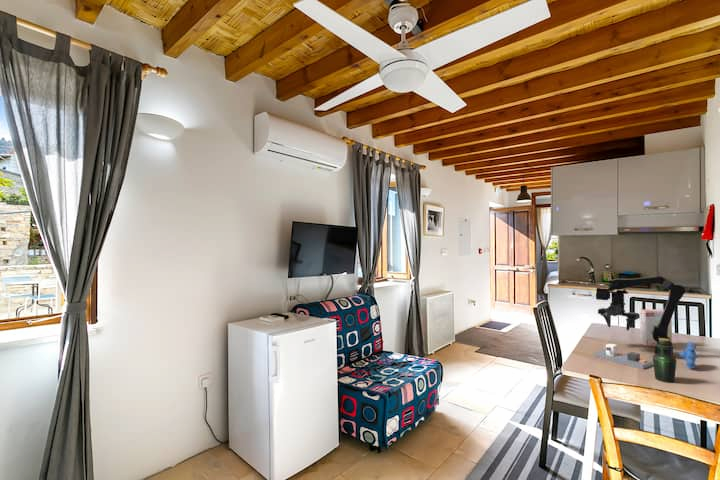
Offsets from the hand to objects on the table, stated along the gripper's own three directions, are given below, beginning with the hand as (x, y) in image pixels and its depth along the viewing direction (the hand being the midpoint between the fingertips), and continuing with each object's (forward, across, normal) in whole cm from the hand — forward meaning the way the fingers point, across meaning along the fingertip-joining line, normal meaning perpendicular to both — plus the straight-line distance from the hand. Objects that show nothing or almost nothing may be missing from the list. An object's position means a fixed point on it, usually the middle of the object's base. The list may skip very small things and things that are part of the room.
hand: (618, 328), depth 202 cm
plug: (+12, +5, -18) cm, 22 cm away
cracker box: (+12, +7, +27) cm, 30 cm away
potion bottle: (+12, +32, -30) cm, 46 cm away
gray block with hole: (+12, +10, -18) cm, 24 cm away
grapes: (+12, +31, -2) cm, 33 cm away
